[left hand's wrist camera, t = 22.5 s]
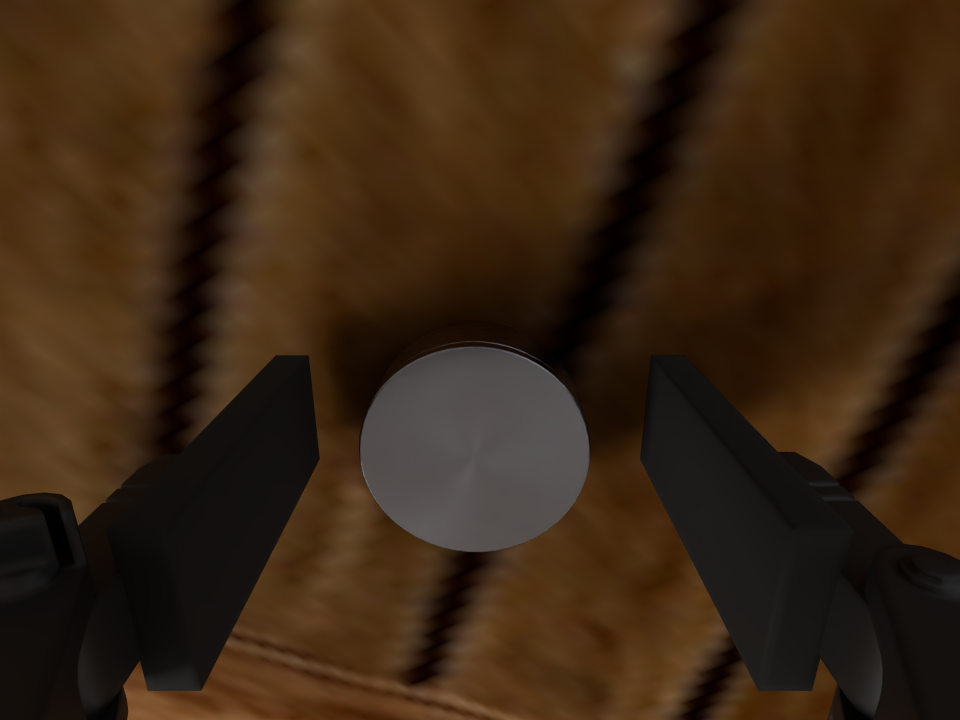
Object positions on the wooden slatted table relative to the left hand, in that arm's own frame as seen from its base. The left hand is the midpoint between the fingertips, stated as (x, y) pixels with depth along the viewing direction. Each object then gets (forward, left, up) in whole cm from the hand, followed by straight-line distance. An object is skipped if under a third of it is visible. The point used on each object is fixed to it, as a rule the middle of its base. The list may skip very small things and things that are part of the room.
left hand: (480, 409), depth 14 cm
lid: (0, 0, +1) cm, 1 cm away
